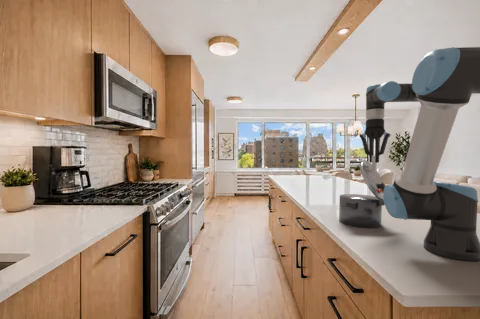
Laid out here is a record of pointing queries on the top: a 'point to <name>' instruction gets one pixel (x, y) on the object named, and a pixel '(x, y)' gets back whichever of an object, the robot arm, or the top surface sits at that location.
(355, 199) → the cooker pot
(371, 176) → the cooker lid
